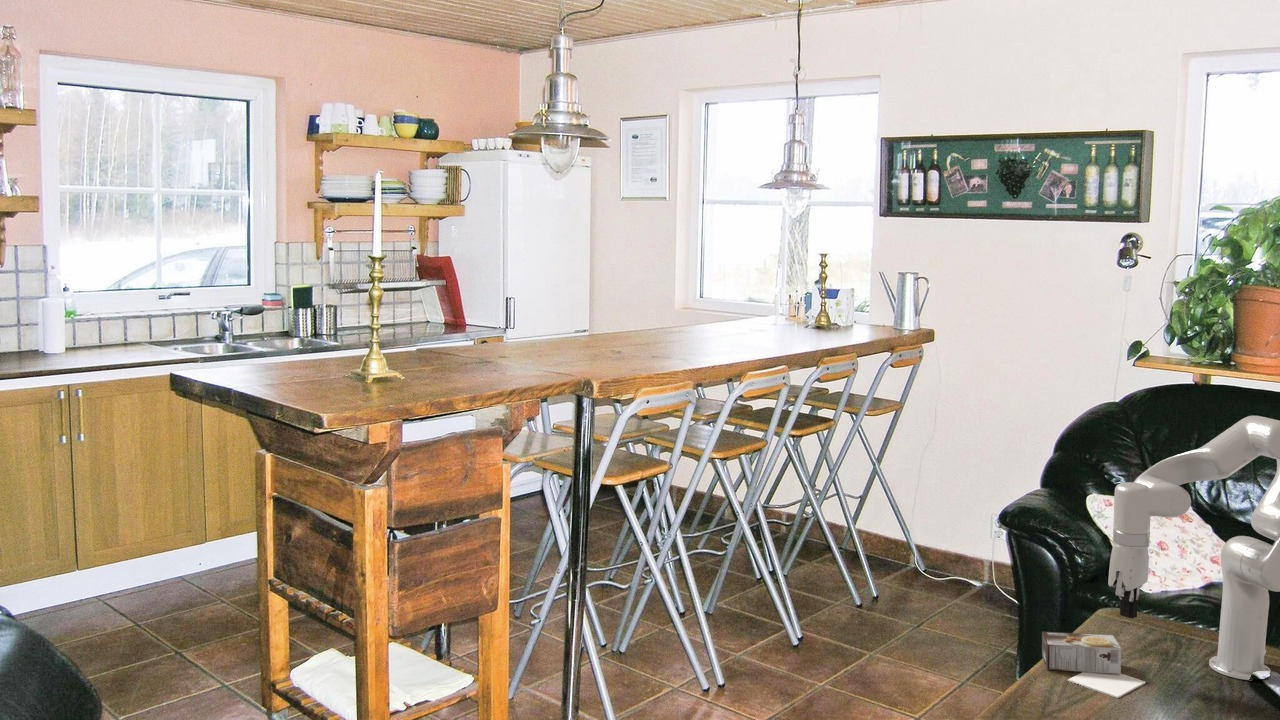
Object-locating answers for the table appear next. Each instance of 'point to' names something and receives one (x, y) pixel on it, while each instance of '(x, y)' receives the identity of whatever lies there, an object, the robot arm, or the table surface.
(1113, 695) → the mat
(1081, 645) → the coffee box
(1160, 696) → the table surface
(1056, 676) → the table surface
